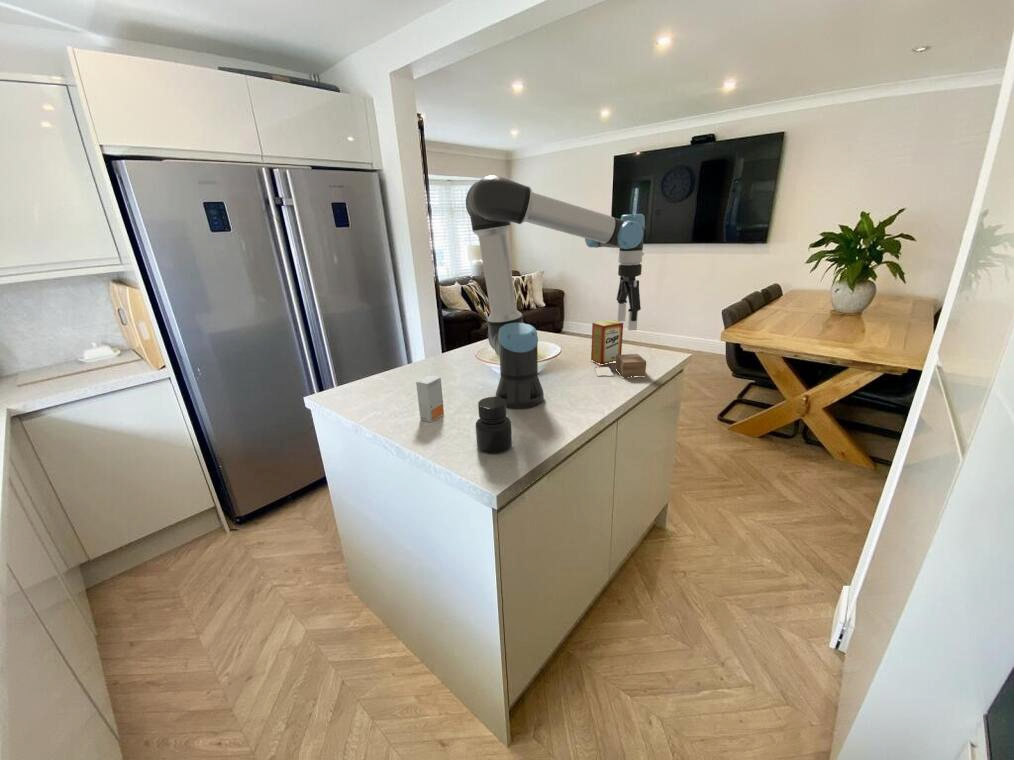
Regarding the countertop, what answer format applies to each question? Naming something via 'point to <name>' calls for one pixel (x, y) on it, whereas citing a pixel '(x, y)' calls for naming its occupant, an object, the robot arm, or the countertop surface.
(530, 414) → the countertop surface
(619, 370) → the walnut block
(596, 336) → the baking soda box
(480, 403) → the ink bottle
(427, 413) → the skincare box
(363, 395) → the countertop surface
